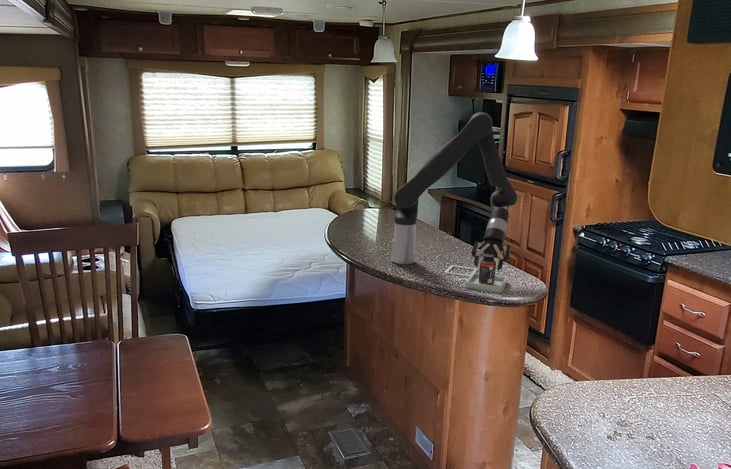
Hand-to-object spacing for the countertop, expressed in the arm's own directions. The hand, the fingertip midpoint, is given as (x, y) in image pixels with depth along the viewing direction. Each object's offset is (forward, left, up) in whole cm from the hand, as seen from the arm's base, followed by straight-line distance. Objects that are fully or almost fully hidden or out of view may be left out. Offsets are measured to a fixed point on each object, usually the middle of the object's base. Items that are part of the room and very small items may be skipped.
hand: (487, 267), depth 218 cm
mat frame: (-13, +13, -7) cm, 20 cm away
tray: (0, +1, -7) cm, 7 cm away
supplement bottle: (0, +2, -7) cm, 7 cm away
